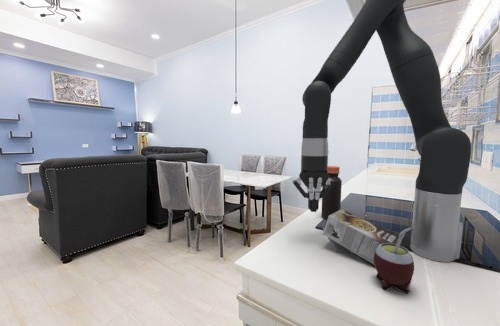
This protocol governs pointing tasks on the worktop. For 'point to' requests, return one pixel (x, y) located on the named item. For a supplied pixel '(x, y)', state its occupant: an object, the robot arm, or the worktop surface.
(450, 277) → the worktop surface
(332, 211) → the bottle
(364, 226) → the coffee box
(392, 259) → the mate gourd
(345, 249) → the mat
